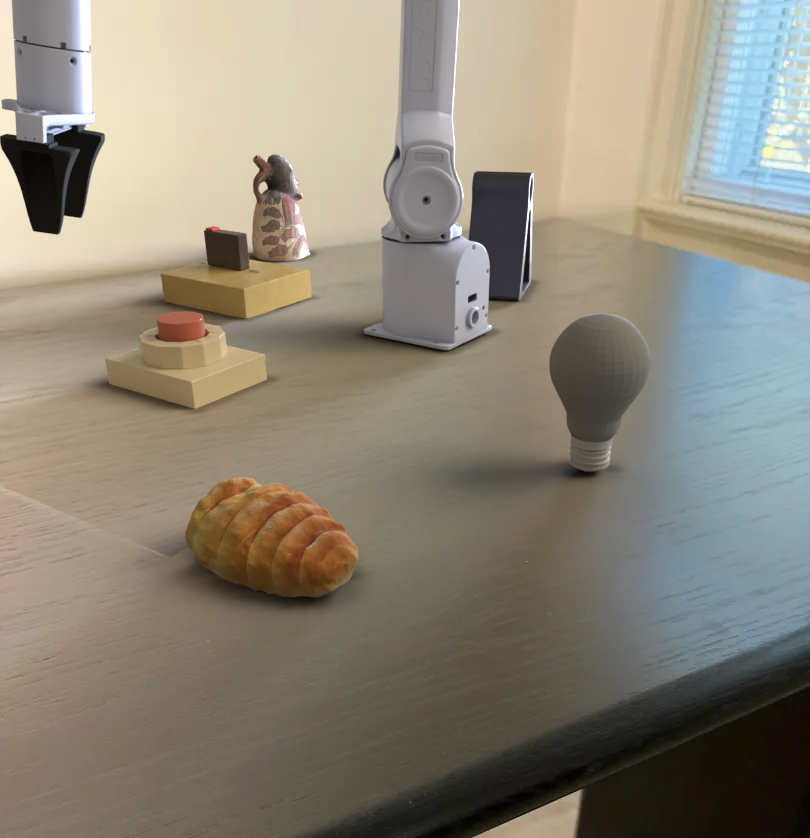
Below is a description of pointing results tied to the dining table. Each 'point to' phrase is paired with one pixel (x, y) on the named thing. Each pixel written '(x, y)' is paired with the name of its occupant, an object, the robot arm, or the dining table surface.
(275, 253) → the figurine
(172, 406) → the dining table surface
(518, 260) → the phone stand
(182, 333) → the bell button
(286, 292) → the plate
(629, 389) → the light bulb
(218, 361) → the block
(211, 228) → the thumb turn
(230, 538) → the pastry
